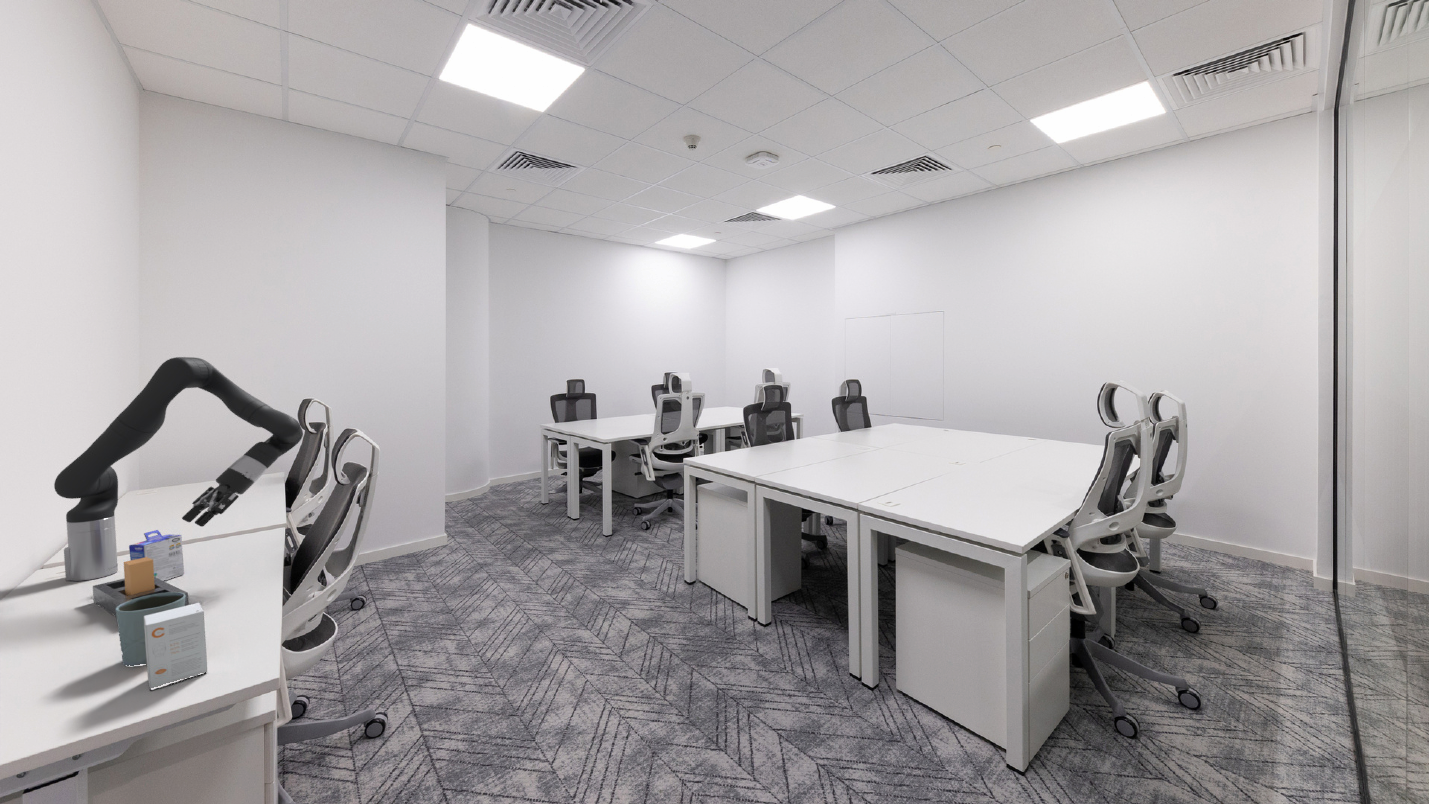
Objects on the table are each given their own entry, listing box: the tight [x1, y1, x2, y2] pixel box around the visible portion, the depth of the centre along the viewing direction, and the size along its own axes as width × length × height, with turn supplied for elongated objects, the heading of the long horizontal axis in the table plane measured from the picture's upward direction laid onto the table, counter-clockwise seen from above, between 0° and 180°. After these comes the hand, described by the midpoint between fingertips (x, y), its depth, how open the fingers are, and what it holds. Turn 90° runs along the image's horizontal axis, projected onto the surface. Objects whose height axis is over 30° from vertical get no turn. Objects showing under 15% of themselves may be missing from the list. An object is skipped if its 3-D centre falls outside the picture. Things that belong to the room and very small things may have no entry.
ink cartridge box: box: [128, 529, 185, 582], centre depth 153 cm, size 10×6×14 cm, turn 174°
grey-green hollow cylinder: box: [115, 592, 186, 666], centre depth 112 cm, size 10×10×12 cm
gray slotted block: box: [92, 577, 190, 618], centre depth 136 cm, size 28×10×4 cm, turn 62°
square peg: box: [123, 557, 155, 596], centre depth 136 cm, size 4×4×11 cm
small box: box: [144, 602, 208, 690], centre depth 104 cm, size 8×6×13 cm
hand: (191, 522), depth 145 cm, fingers open, 8 cm apart
